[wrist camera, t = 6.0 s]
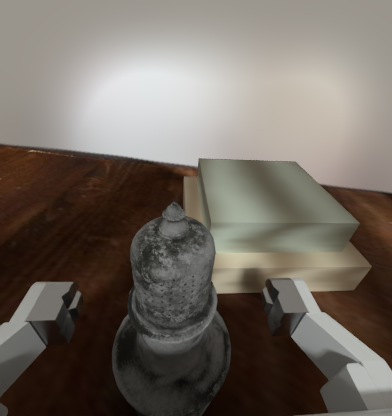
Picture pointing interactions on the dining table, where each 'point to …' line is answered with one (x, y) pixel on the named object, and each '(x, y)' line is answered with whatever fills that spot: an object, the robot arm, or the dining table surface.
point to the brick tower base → (279, 263)
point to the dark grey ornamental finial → (171, 321)
